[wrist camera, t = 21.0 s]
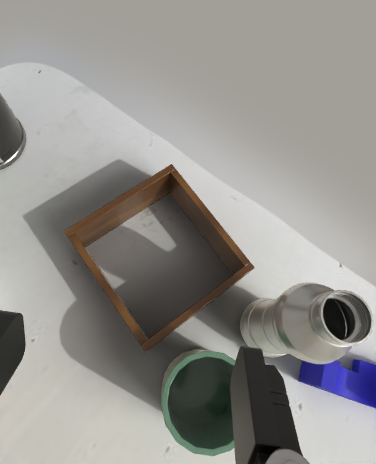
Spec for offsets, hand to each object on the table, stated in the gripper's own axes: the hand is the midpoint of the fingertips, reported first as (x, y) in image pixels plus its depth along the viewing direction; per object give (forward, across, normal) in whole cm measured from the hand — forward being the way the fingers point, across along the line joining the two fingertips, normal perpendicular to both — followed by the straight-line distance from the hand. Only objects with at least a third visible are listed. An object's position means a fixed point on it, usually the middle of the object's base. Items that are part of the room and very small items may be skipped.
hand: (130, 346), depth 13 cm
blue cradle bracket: (+20, -24, +21) cm, 38 cm away
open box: (+28, +1, +14) cm, 31 cm away
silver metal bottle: (+23, -13, +18) cm, 33 cm away
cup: (+18, -6, +24) cm, 30 cm away
